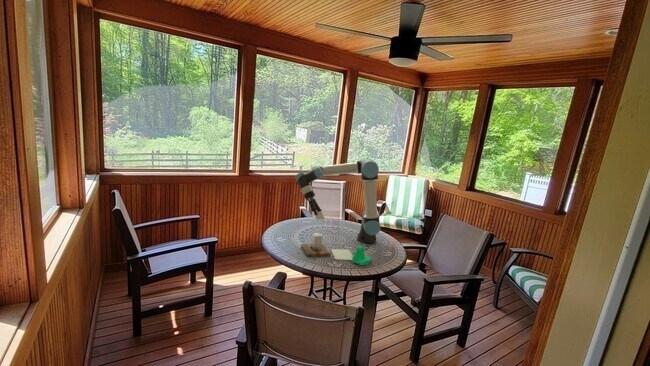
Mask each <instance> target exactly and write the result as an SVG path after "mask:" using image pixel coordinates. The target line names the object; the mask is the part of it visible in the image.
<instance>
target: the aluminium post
mask: <svg viewBox="0 0 650 366" xmlns="http://www.w3.org/2000/svg"><path fill="white" fill-rule="evenodd" d="M322 239H323V235H322V234H321V233H320V232H319V233H318V232H317V233H316V232H315V233H312V237H311V244H312V245H311V250H312V251H320V250H321V244H322V241H323V240H322Z"/></svg>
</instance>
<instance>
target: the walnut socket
mask: <svg viewBox="0 0 650 366" xmlns="http://www.w3.org/2000/svg"><path fill="white" fill-rule="evenodd" d="M311 245H312V243H301V249H302V251H303V252H304V254H305V256H306V257H307V258H310V257H311V258H315V257H318V258H319V257H331V254H332V252H330V249H328V248H327V246H325V244H324V243H321V250H320V251H312V250H311Z"/></svg>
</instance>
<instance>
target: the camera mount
mask: <svg viewBox="0 0 650 366" xmlns="http://www.w3.org/2000/svg"><path fill="white" fill-rule="evenodd" d="M365 252H366V248H365V247H364V246H362V245H358V246H357V247H356V250H355V252H354V254H353V255H352V256H353V258H352V260H351V262H353V263H356V264H358V265H359V266H367V265H369V264H370V262H372V260H373V259H372V257H370V256H367V255H366V254H365Z"/></svg>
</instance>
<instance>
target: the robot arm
mask: <svg viewBox="0 0 650 366" xmlns="http://www.w3.org/2000/svg"><path fill="white" fill-rule="evenodd" d="M379 169H380V168H379V165H378V163H377V162H376V161H375V160H374V159H371V158H365V159H361V160H356V161H354V162H349V163H340V164H339V163H338V164H332V165H331V164H330V165H323V166H322V165H321V166H313V167H312V168H311V170H309V171H308V172H306V173H305V172H304V171H301V172H299V173H298V172H297V174H296V175H294V176H295V179H296V183H297V184H298V187H299V188H300V190H301V191H300V193H302V194H303V197H304V200H306V201H308V204H309V207H310V209H311V210H310V211H311V212H312V213H313V214H314V216H315V219H316V221H319V220H321V221H324V220H326V218H325V217H324V214H323V212H322V211H323V210H322V209H321V207H320V206H319V204H318V202H317V200H316V199H315V198H314V197H315V196H316V193H315V192H314V189H313V187H312V185H311V183H312V182H314V181H316V180H318V179H321V178H322V177H325V176H328V177H329V176H335V175H344V174H345V175H346V174H353V173H356V174H361V180H362V182H363V190H364V191H363V192H364V193H363V194H364V211H363V212H362V217H361V225H360V230H359V232H358V234H357V237H356V239H357V241H358V242H361V243H364V244H370V245H371V244H376V243H377V240H378V239H377V235H378V234H379V233H380V231H381V224H380V223H381V222H380V215H379V214H378V204H377V203H378V202H377V199H378V198H377V196H378V195H377V181H378V179H379Z"/></svg>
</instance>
